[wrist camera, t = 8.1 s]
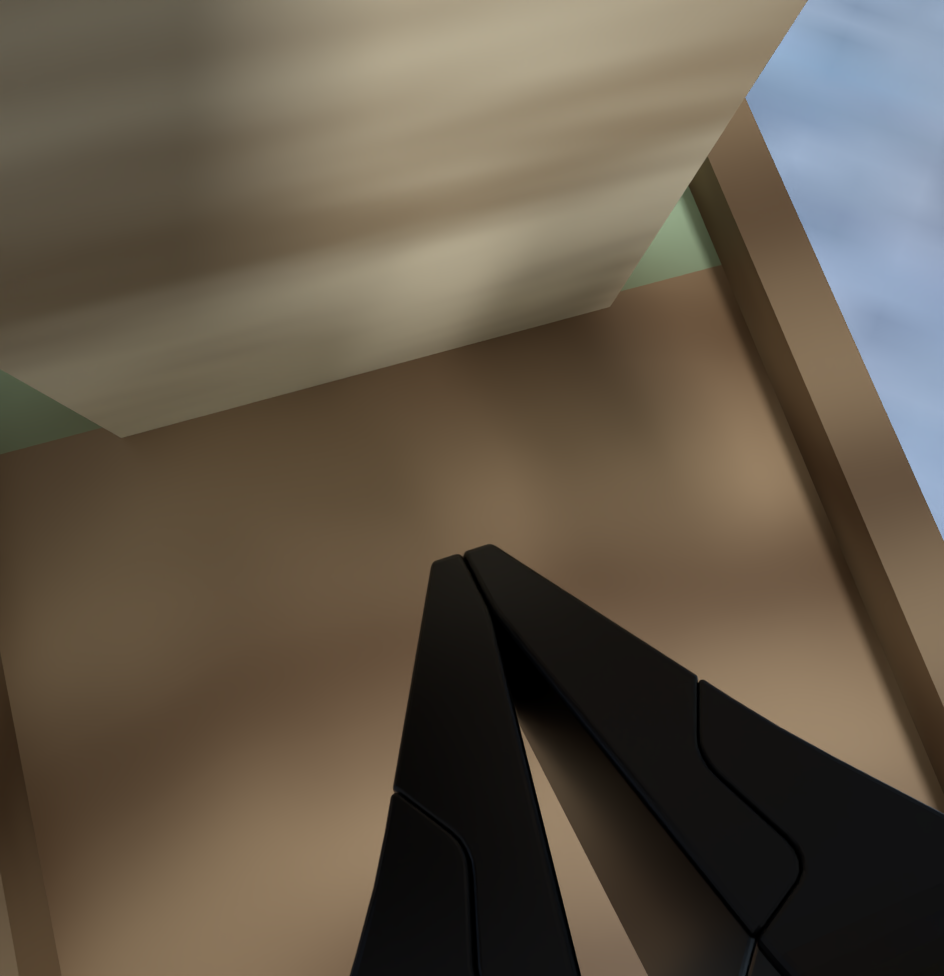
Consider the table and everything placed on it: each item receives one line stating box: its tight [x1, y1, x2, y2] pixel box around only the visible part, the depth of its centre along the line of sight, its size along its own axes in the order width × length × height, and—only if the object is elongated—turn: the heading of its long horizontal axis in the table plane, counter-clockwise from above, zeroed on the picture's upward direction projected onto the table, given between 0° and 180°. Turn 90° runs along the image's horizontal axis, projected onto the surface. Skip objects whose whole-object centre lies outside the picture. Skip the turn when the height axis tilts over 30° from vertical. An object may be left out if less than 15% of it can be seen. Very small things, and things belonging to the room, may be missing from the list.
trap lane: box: [0, 98, 944, 976], centre depth 13 cm, size 36×20×4 cm, turn 18°
